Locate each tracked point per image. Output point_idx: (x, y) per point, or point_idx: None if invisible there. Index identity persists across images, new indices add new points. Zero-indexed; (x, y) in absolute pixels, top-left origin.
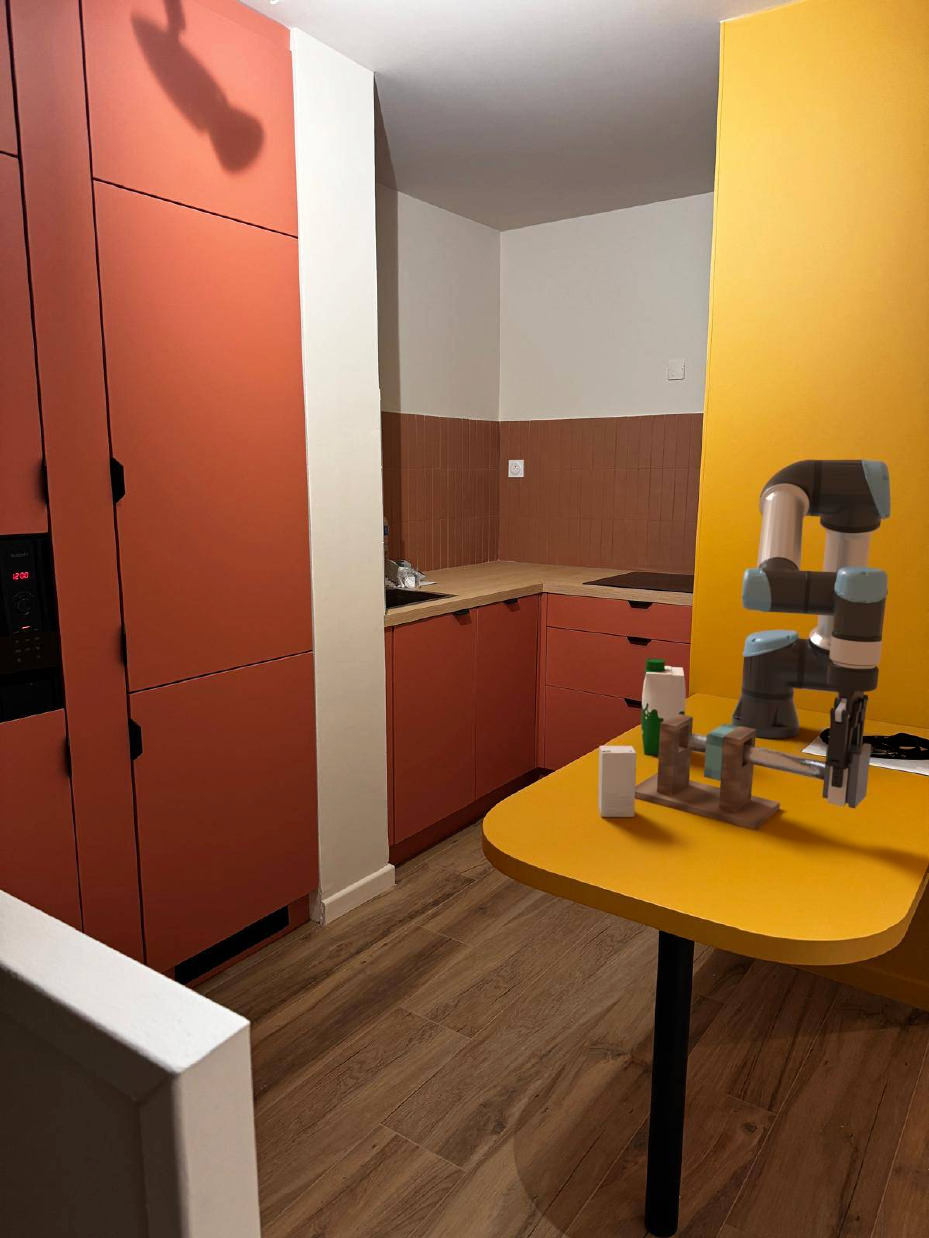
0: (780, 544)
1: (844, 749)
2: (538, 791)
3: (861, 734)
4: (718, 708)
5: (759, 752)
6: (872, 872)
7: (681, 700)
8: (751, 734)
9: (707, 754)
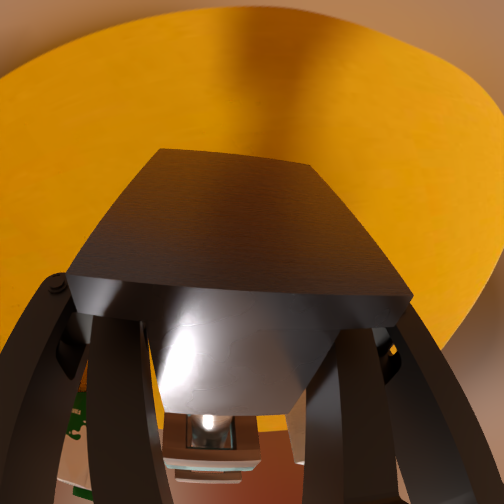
0: None
1: (447, 370)
2: (276, 428)
3: (35, 366)
4: None
5: (227, 423)
6: (375, 96)
7: (73, 452)
8: (190, 455)
9: None
